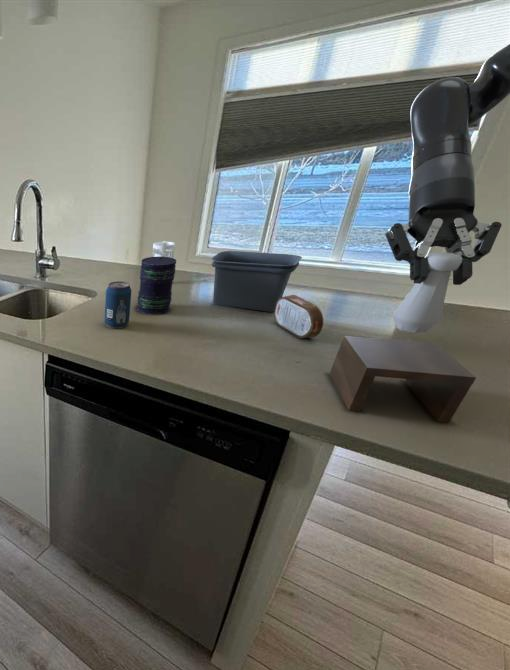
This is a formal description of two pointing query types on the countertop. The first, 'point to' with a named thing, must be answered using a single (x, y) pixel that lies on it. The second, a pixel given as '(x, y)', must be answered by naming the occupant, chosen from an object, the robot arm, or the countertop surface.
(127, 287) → the soda can
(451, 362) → the shelf
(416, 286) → the salt shaker
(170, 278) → the storage jar
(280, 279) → the storage bin
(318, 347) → the countertop surface
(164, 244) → the strainer
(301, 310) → the tin
